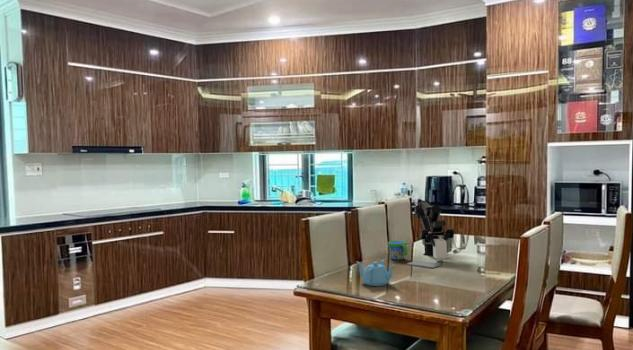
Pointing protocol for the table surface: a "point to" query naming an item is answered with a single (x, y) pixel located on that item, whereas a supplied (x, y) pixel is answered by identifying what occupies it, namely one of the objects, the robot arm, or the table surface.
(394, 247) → the snack cup
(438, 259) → the silver metallic cylinder
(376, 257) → the table surface
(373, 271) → the teapot
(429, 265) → the mat
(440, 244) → the cover
